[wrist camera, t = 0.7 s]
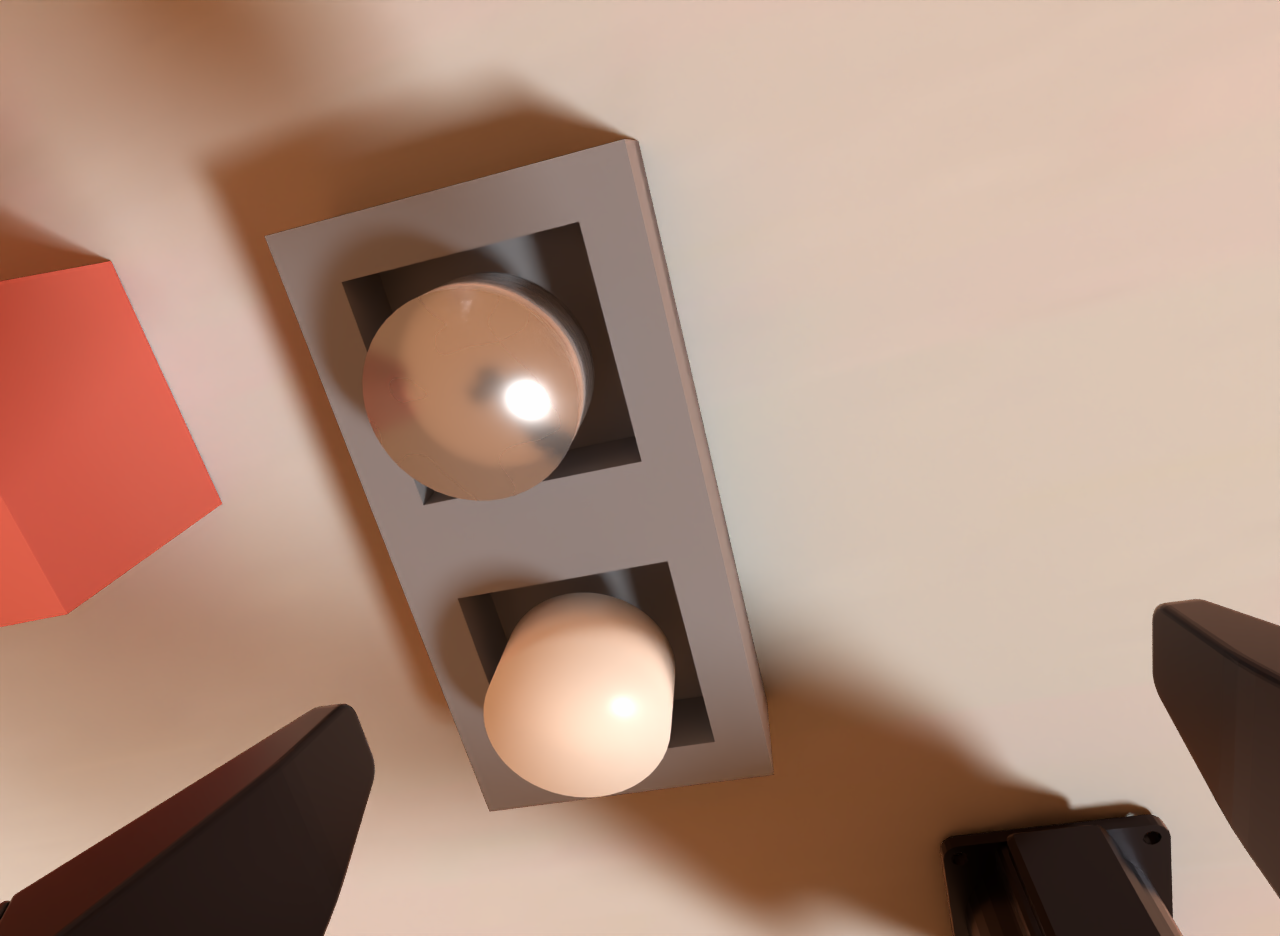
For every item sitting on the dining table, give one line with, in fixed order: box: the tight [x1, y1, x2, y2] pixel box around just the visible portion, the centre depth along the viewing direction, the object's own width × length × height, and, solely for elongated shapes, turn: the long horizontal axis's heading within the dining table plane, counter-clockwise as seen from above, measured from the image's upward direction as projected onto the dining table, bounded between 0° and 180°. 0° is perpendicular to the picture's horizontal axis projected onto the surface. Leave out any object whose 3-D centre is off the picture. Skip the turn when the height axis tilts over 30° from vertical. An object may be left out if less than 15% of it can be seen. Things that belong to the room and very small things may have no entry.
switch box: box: [265, 139, 774, 811], centre depth 21 cm, size 16×8×3 cm, turn 14°
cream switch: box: [483, 593, 675, 797], centre depth 20 cm, size 4×4×2 cm
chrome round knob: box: [362, 272, 595, 501], centre depth 17 cm, size 4×4×2 cm
